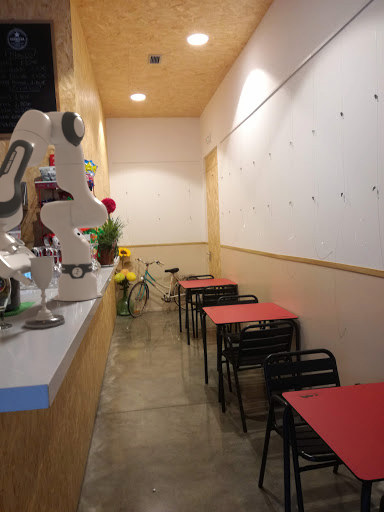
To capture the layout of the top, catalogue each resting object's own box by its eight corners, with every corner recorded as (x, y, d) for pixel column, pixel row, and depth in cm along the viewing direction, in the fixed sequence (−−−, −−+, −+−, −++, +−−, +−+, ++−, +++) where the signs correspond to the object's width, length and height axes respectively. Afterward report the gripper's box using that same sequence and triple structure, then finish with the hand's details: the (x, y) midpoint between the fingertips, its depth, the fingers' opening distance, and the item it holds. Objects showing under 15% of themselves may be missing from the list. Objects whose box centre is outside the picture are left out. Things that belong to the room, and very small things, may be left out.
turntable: (26, 321, 115) (26, 316, 115) (65, 318, 118) (64, 312, 118) (22, 330, 105) (22, 324, 104) (64, 326, 108) (64, 320, 108)
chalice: (62, 316, 113) (59, 256, 112) (44, 322, 107) (41, 258, 106) (44, 315, 116) (41, 256, 115) (26, 320, 110) (22, 258, 109)
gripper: (-11, 242, 99) (28, 278, 100) (23, 240, 120) (56, 270, 121) (-27, 260, 100) (12, 296, 100) (10, 254, 120) (43, 284, 121)
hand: (36, 281), depth 111 cm, fingers open, 8 cm apart
